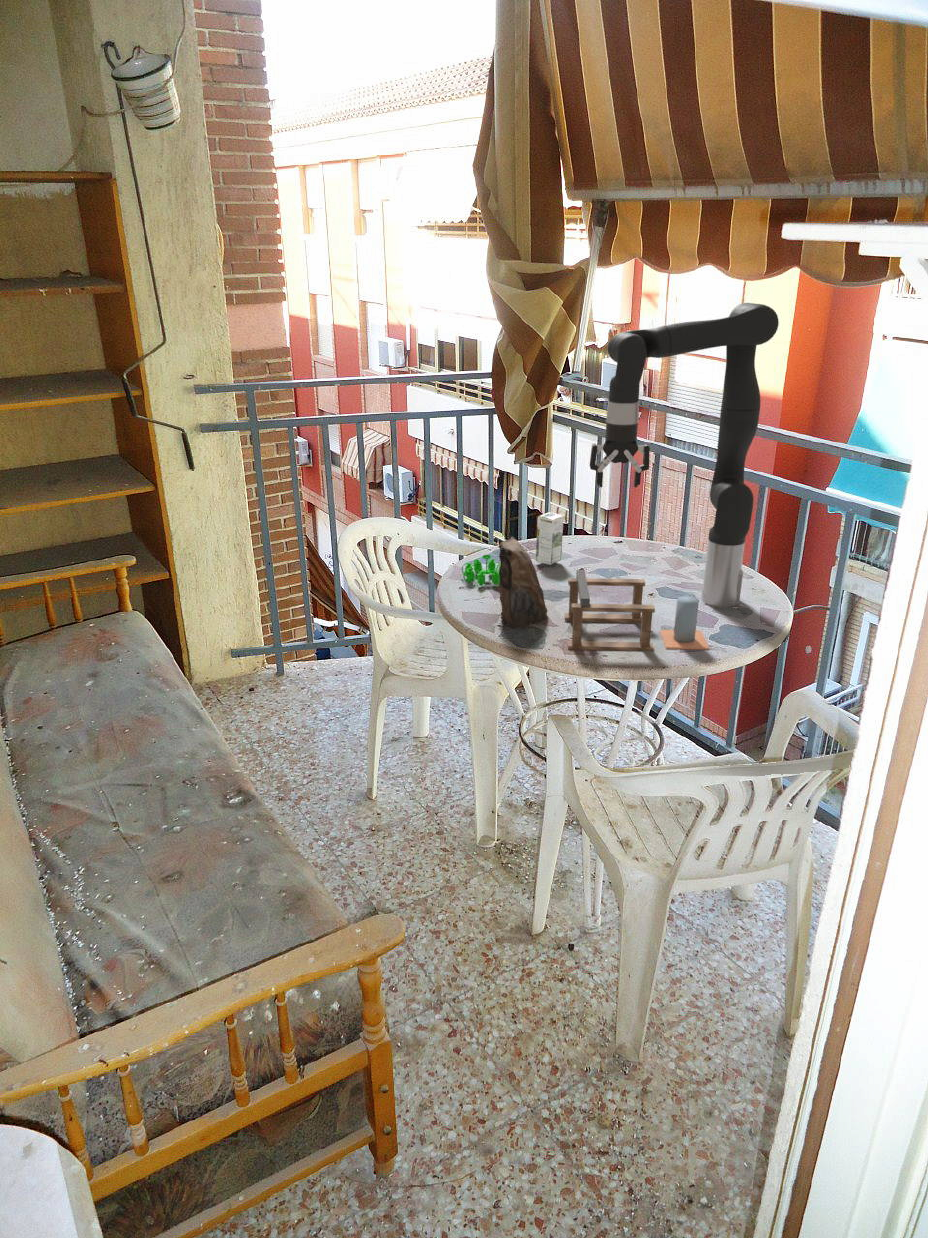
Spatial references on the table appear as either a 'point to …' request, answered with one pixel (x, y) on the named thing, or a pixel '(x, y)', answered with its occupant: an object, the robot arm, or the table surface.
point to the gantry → (610, 616)
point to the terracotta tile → (673, 644)
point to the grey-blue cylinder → (686, 619)
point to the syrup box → (549, 538)
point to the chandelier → (481, 574)
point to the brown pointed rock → (519, 586)
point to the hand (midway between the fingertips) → (617, 486)
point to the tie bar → (582, 588)
